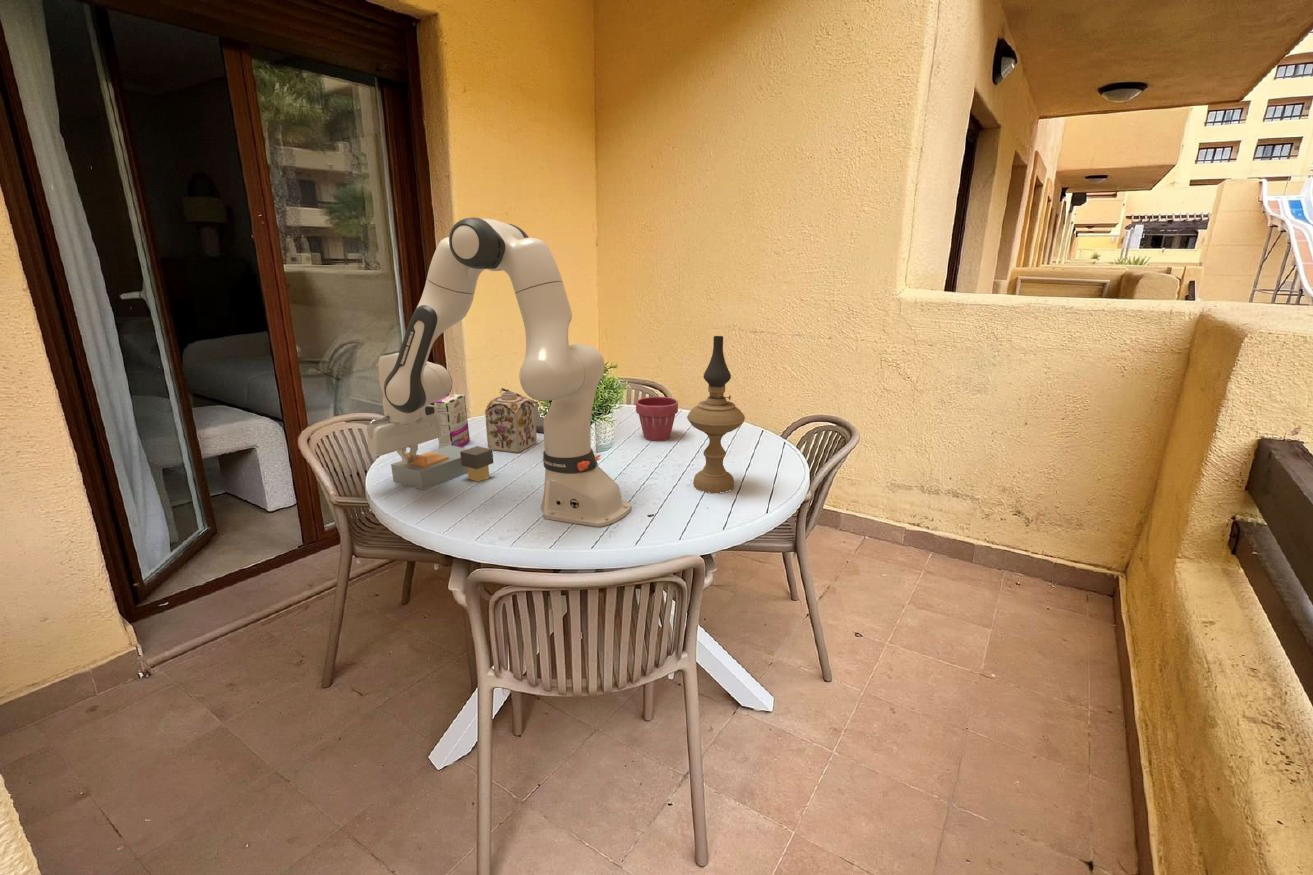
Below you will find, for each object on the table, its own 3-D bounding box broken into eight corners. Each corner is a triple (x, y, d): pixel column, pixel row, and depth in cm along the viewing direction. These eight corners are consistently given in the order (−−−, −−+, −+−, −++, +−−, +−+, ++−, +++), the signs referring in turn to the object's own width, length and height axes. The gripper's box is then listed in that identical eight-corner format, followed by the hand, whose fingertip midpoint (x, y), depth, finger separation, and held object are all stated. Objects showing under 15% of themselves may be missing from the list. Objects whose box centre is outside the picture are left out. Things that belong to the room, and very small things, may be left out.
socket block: (479, 467, 170) (478, 451, 169) (422, 489, 154) (420, 472, 152) (451, 460, 176) (449, 444, 175) (393, 481, 160) (390, 464, 158)
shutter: (448, 458, 162) (447, 449, 162) (424, 467, 156) (423, 457, 155) (429, 454, 166) (428, 445, 166) (405, 462, 160) (404, 453, 159)
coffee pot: (564, 425, 214) (563, 385, 210) (558, 434, 203) (556, 392, 199) (507, 424, 215) (504, 384, 211) (498, 433, 204) (494, 391, 200)
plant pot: (629, 440, 196) (628, 403, 193) (646, 429, 209) (645, 394, 205) (668, 445, 191) (669, 407, 187) (683, 434, 204) (684, 398, 200)
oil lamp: (727, 500, 147) (733, 342, 135) (675, 489, 154) (677, 337, 143) (750, 482, 159) (757, 335, 148) (701, 472, 167) (705, 331, 155)
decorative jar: (487, 450, 186) (482, 395, 181) (506, 439, 197) (503, 387, 192) (519, 453, 183) (515, 397, 177) (538, 443, 193) (535, 390, 188)
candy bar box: (456, 441, 195) (451, 393, 190) (470, 442, 194) (465, 394, 189) (438, 451, 185) (432, 401, 180) (452, 452, 184) (447, 402, 179)
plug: (494, 476, 164) (492, 449, 161) (478, 483, 159) (475, 455, 156) (479, 472, 166) (476, 446, 164) (462, 479, 161) (460, 451, 159)
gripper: (374, 423, 142) (382, 476, 146) (442, 405, 159) (447, 453, 163) (358, 419, 145) (366, 471, 149) (426, 403, 162) (432, 450, 166)
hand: (409, 462), depth 156 cm, fingers closed
